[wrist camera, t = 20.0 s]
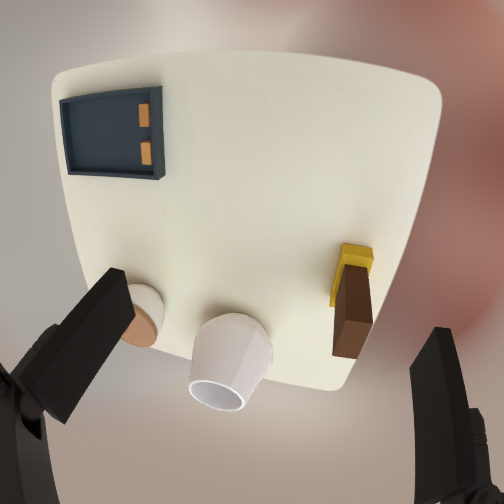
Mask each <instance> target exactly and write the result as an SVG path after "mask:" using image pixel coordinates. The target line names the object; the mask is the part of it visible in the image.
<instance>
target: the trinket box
mask: <svg viewBox="0 0 504 504" xmlns="http://www.w3.org/2000/svg"><path fill="white" fill-rule="evenodd" d="M128 288H129V292H130V296H131V299H132V303H133V307H134V310H135V314H136V316H135V318H134V319H133V321H132V322H131V324H130V325H129V326H128V328H127V329H126V331H125V332H124V334H123V335H122V337H121V339H122V340H124V341H126V342H127V343H129V344H131V345H134V346H138V347H149V346H151V345H153V344H154V342H155V341H156V339H157V336H158V334H159V333H160V331H161V329H162V326H163V323H164V319H165V310H164V306H163V303H162V299H161V297H160V295H159V294H158V292H157V291H156V290H155V289H153V288H152V287H150V286H148V285H145V284H131V285H128Z"/></svg>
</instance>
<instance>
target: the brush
mask: <svg viewBox="0 0 504 504" xmlns="http://www.w3.org/2000/svg"><path fill="white" fill-rule="evenodd" d="M373 260H374V257H373V251H372V248H368V247H362V246H357V245H351V244H345V243H343V246H342V250H341V254H340V258H339V263H338V267H337V271H336V275H335V279H334V282H333V286H332V290H331V294H330V307H335V317H334V336H333V352H332V356H337V357H344V358H352V359H357V358H358V356H359V354H360V352H361V350H362V347H363V345H364V343H365V341H366V339H367V336H368V334H369V332H370V330H371V327H372V325H373V318H372V306H371V296H370V287H369V278H368V276H369V272H370V269H371V266H372V263H373Z"/></svg>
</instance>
